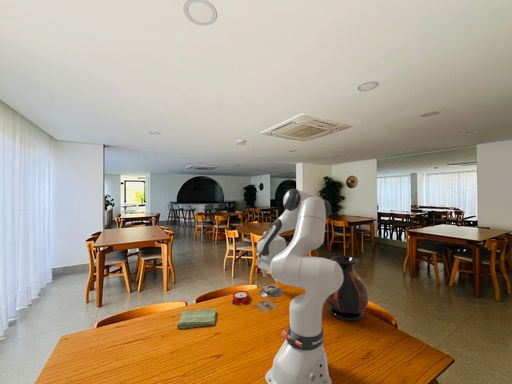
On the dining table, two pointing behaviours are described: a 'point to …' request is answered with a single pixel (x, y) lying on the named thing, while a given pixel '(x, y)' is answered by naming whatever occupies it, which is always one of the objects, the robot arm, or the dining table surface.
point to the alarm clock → (240, 298)
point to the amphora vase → (348, 293)
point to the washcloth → (197, 318)
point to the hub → (271, 295)
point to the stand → (266, 305)
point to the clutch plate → (271, 290)
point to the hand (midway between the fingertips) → (270, 278)
